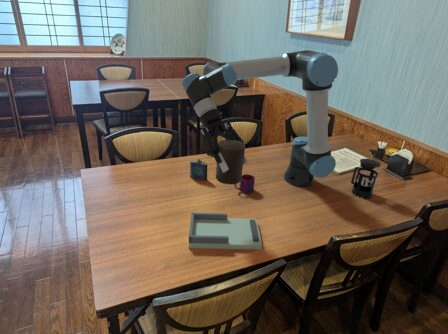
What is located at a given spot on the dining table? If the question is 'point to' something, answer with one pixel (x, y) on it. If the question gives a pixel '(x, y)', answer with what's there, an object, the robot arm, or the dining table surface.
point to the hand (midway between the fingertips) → (236, 167)
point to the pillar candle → (231, 161)
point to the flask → (198, 170)
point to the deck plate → (223, 232)
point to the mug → (246, 184)
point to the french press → (363, 182)
